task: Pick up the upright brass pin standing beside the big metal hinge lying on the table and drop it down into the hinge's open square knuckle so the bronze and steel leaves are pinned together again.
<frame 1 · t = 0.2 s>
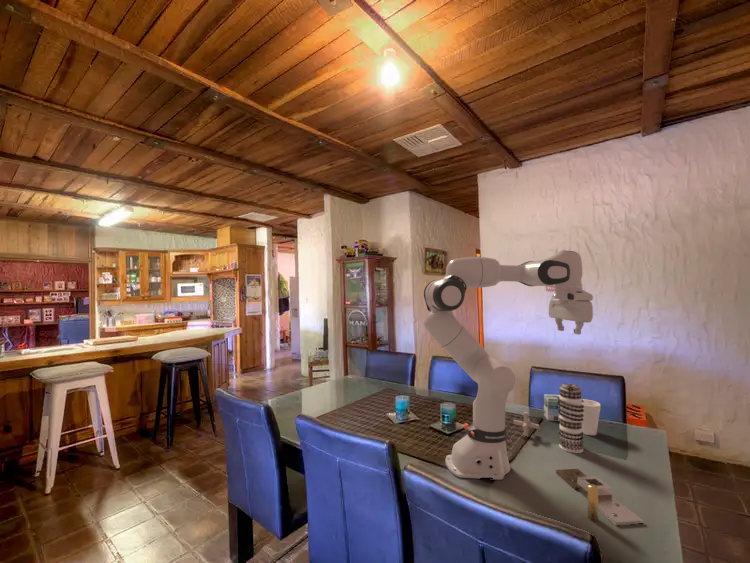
hand: (568, 332, 127), 48 cm above the table, fingers open, 8 cm apart
foam cup: (588, 432, 152), on the table
decorative candle: (570, 448, 138), on the table
light bulb box: (557, 419, 168), on the table
pipe connector: (526, 436, 148), on the table
brass pin: (593, 518, 96), on the table
hinge: (594, 495, 107), on the table
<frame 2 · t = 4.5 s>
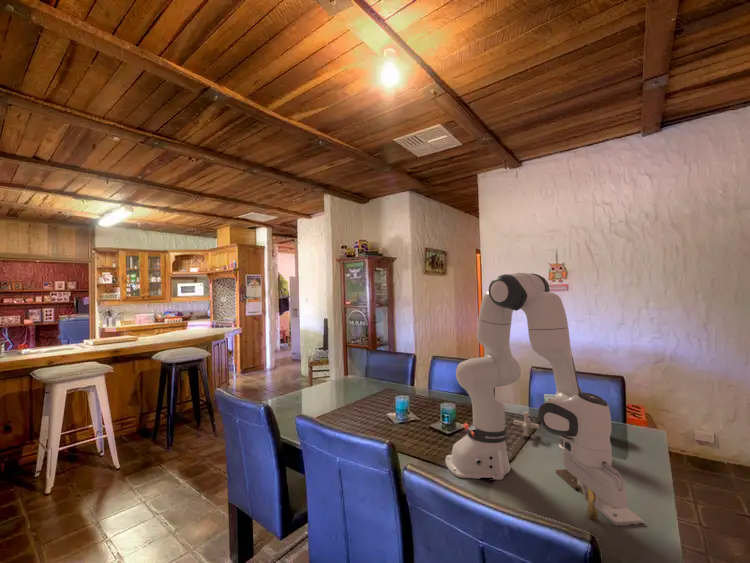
hand: (592, 503, 96), 4 cm above the table, fingers closed on brass pin, 2 cm apart
brass pin: (593, 518, 96), on the table, touching gripper
everything else where it was.
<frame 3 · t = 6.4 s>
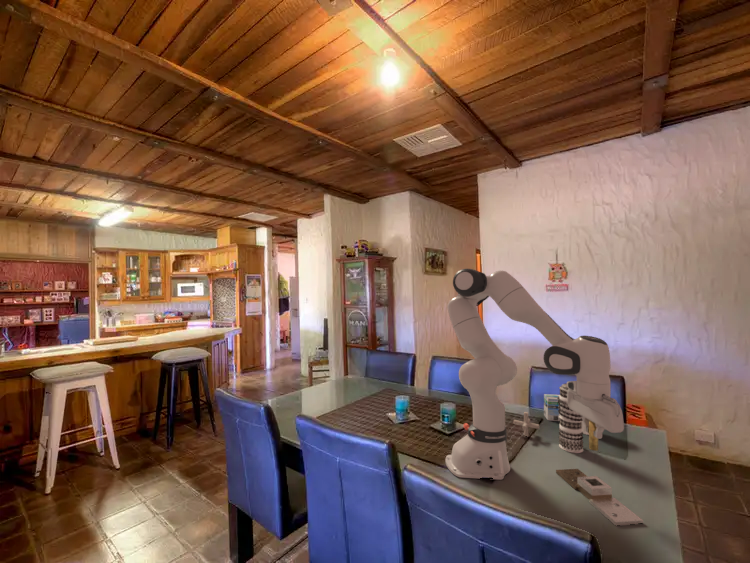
hand: (593, 434, 106), 19 cm above the table, fingers closed on brass pin, 2 cm apart
brass pin: (593, 448, 106), point 15 cm above the table, touching gripper
everything else where it was.
when the fingers open (6 cm above the table, at t = 8.4 s): brass pin drops 1 cm, resting in hinge.
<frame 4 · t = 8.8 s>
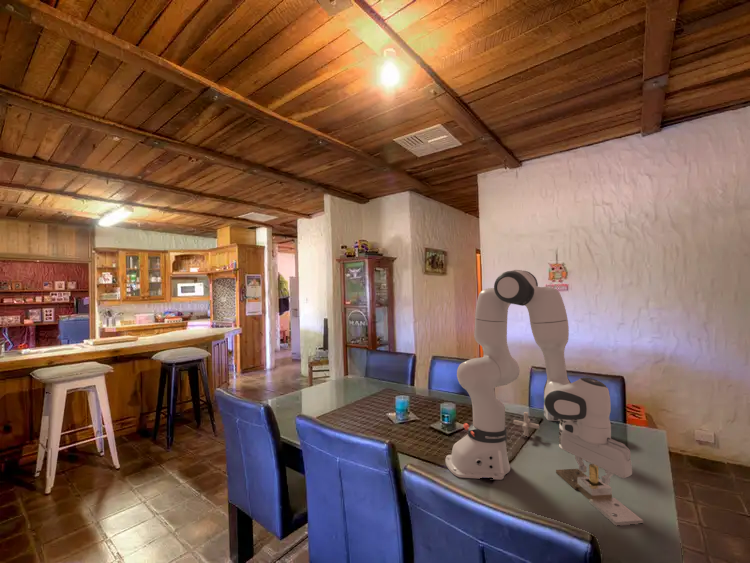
hand: (594, 477, 107), 6 cm above the table, fingers open, 6 cm apart
brass pin: (594, 495, 107), resting in hinge
everything else where it was.
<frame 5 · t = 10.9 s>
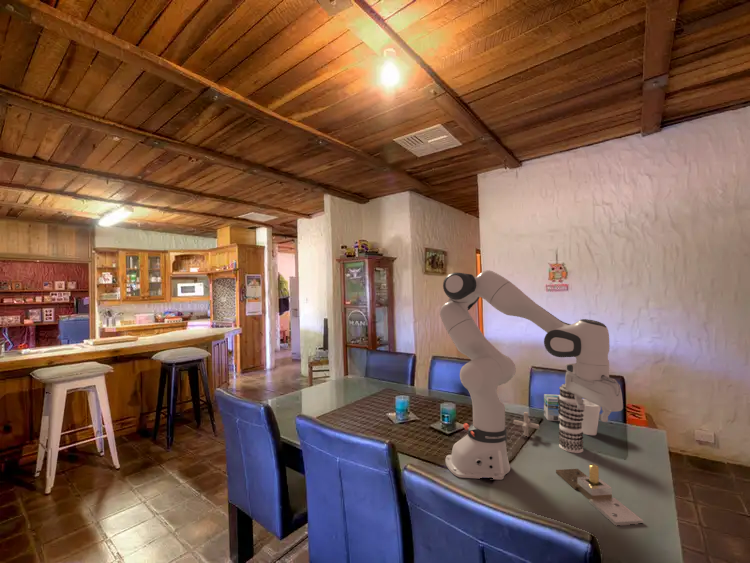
hand: (591, 414, 109), 24 cm above the table, fingers open, 8 cm apart
nothing on the table moved.
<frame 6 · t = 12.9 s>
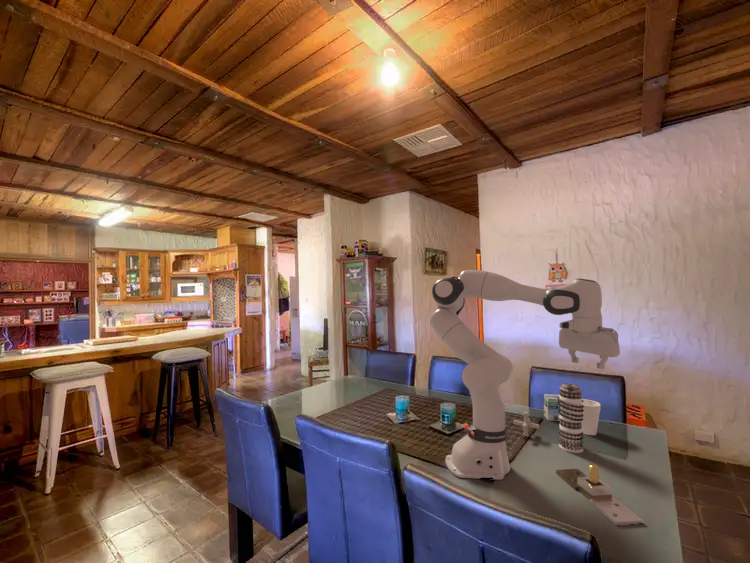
hand: (587, 365, 119), 37 cm above the table, fingers open, 8 cm apart
nothing on the table moved.
at the end: brass pin 0.0 cm off-centre on the hinge, point 0.0 cm above the hinge's base; brass pin tilted 0°; the gripper is holding nothing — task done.
